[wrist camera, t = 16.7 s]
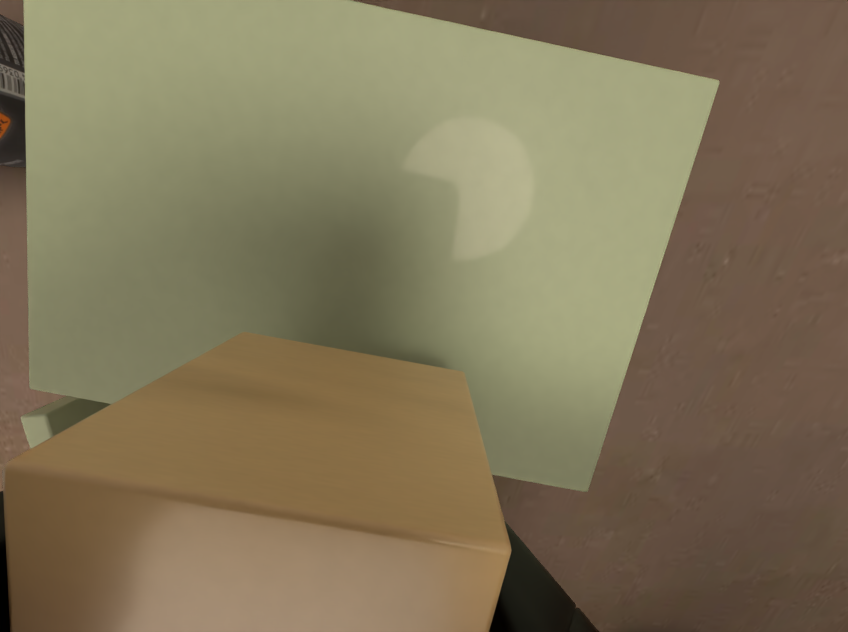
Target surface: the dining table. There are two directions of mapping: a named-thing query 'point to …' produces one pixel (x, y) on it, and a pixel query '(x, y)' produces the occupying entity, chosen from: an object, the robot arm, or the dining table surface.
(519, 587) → the robot arm
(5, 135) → the pill bottle
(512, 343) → the cabinet
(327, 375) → the block
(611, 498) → the dining table surface
